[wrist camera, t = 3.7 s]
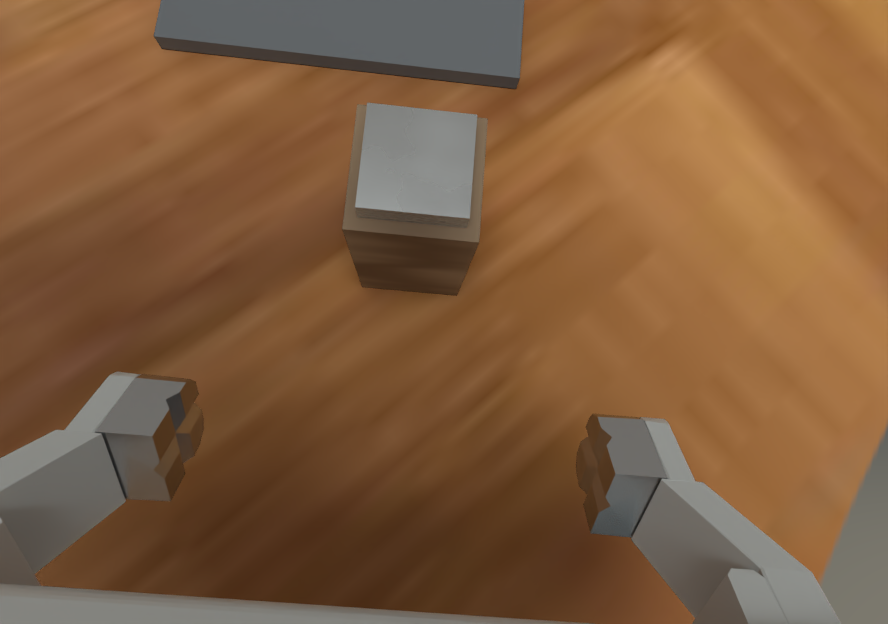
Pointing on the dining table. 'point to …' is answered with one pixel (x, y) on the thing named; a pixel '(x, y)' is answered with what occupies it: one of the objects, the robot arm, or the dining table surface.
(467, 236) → the plug
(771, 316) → the dining table surface
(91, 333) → the dining table surface
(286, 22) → the end holder
